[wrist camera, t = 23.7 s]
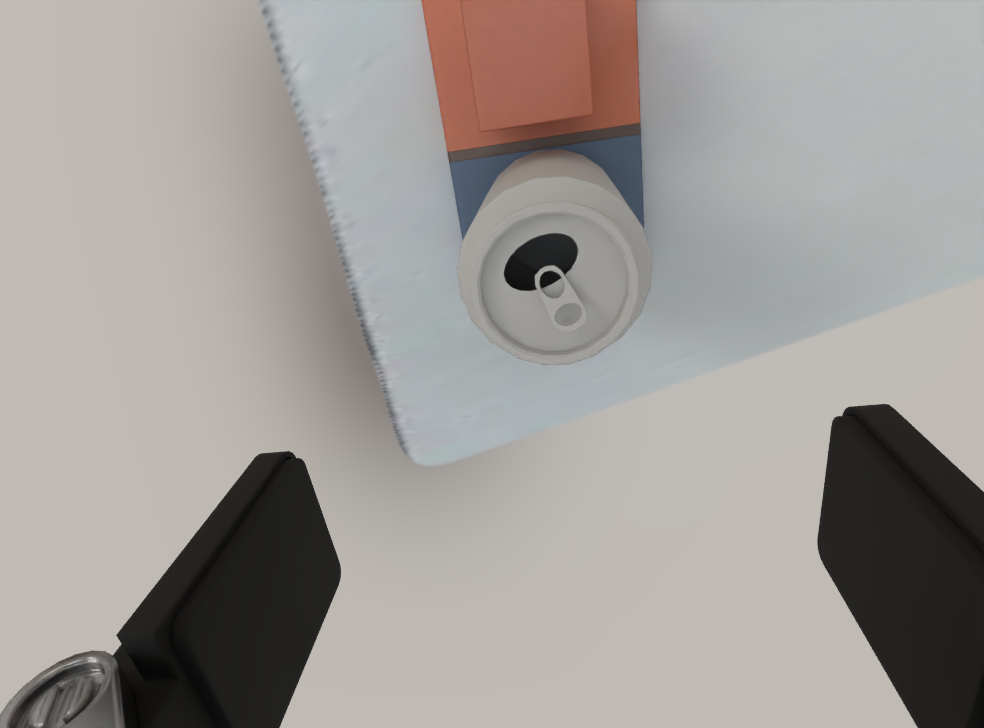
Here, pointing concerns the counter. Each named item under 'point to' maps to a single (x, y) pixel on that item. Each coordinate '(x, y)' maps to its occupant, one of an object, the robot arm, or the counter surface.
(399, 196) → the counter surface
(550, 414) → the counter surface
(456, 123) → the sorting board
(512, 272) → the can
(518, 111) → the terracotta block
